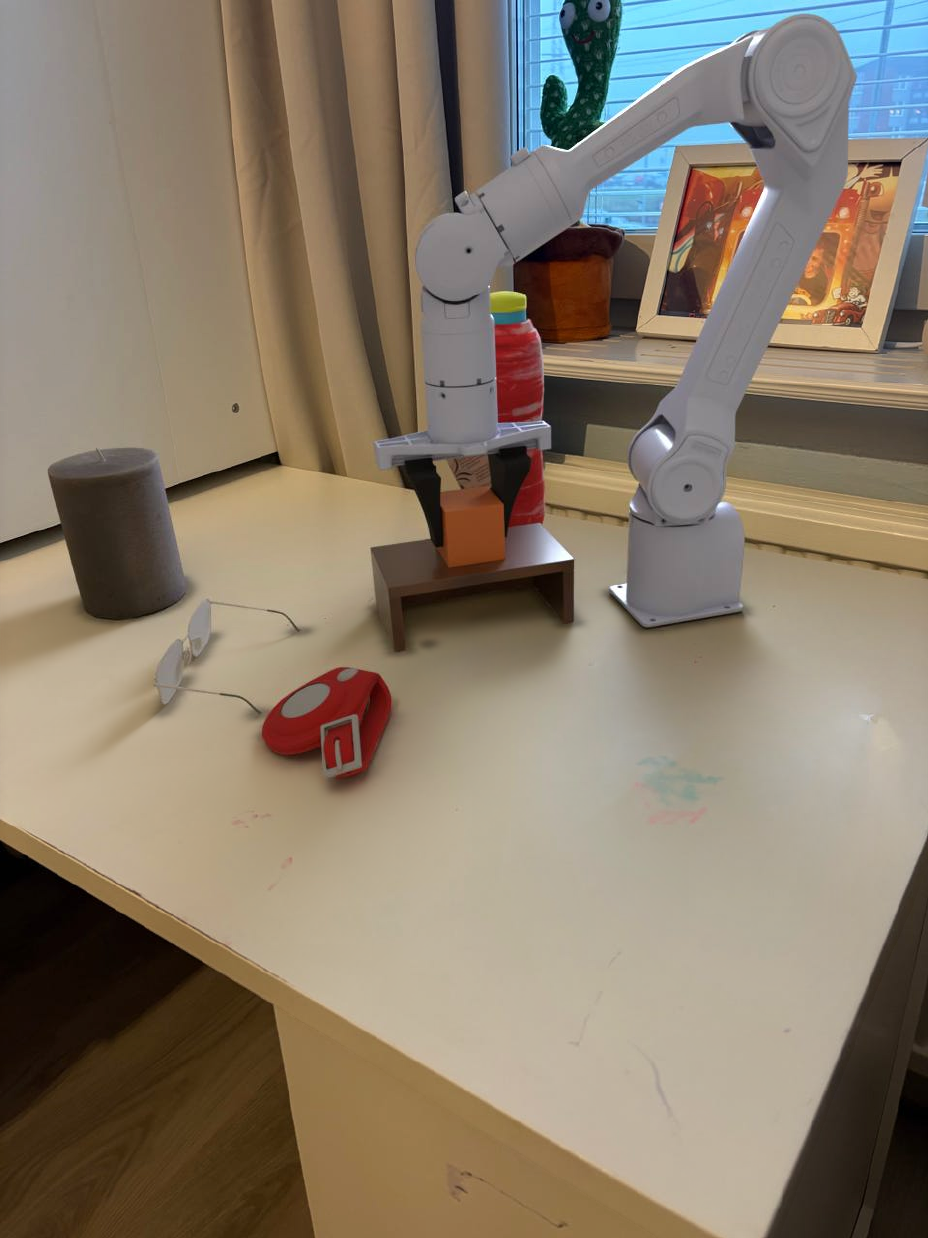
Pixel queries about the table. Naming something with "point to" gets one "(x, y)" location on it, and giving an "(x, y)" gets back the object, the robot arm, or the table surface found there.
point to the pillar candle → (118, 531)
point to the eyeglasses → (173, 658)
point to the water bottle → (513, 402)
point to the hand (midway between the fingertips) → (468, 538)
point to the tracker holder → (332, 719)
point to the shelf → (470, 575)
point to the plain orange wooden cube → (471, 526)
